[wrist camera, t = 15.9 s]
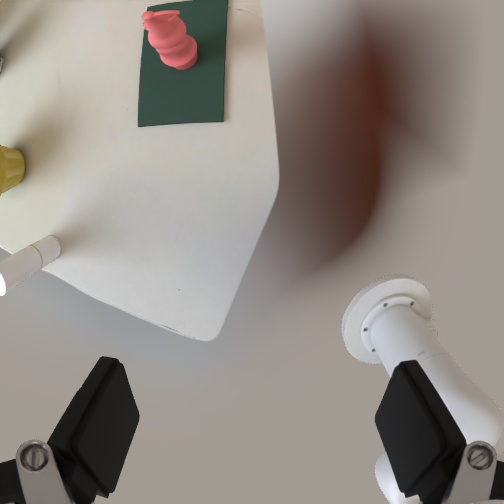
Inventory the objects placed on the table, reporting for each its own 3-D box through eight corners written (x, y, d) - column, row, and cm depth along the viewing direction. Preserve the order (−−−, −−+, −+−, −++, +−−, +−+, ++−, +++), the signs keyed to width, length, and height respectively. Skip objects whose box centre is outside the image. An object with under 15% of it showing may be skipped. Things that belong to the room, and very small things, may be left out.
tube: (60, 237, 42) (3, 270, 28) (61, 261, 43) (8, 299, 29) (42, 233, 42) (-15, 264, 27) (44, 256, 43) (-10, 291, 29)
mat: (227, -1, 30) (227, -3, 30) (223, 122, 37) (222, 121, 36) (148, 8, 30) (147, 6, 30) (139, 127, 37) (137, 126, 36)
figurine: (201, 37, 32) (175, -14, 18) (204, 69, 34) (177, 26, 19) (165, 45, 32) (124, 1, 18) (167, 76, 34) (124, 41, 20)
